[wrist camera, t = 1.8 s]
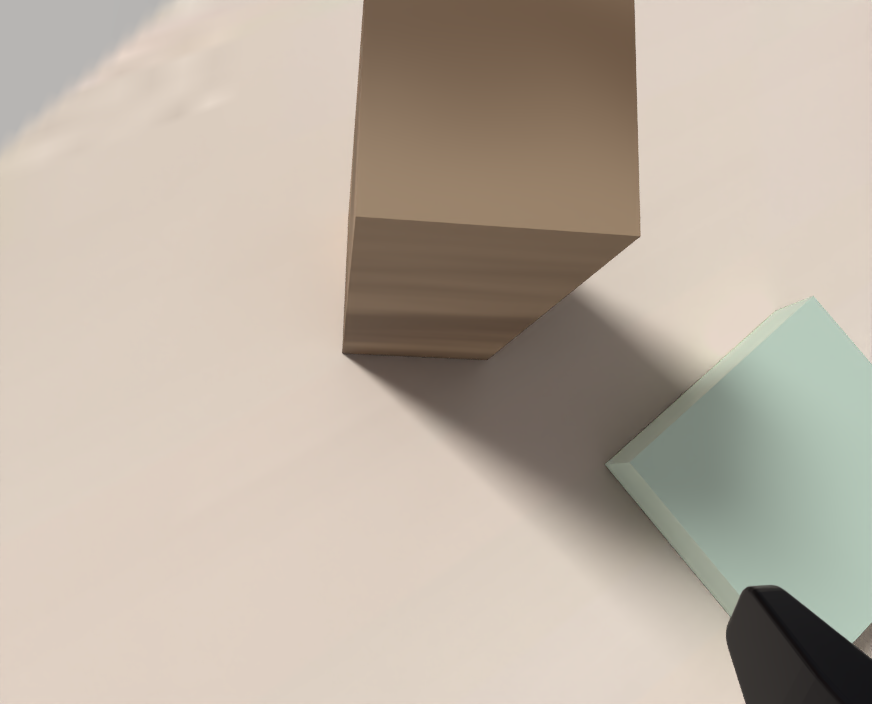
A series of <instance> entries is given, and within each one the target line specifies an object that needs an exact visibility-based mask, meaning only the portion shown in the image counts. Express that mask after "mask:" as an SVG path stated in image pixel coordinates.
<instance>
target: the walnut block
mask: <svg viewBox="0 0 872 704" xmlns="http://www.w3.org/2000/svg"><path fill="white" fill-rule="evenodd" d="M639 237H640V199H639V161H638V123H637V86H636V48H635V10H634V0H364V2H363V17H362V31H361V45H360V59H359V73H358V87H357V102H356V116H355V130H354V144H353V158H352V172H351V187H350V201H349V216H348V238H347V260H346V282H345V304H344V326H343V348H342V353H347V354H369V355H390V356H412V357H434V358H456V359H478V360H488V359H489V358H490V357H492V356H493V355H494V354H495V353H497V352H498V351H499V350H500V349H501V348H503V347H504V346H505V345H506V344H508V343H509V342H510V341H511V340H513V339H514V338H515V337H516V336H518V335H519V334H520V333H521V332H523V331H524V330H525V329H526V328H527V327H529V326H530V325H531V324H532V323H534V322H535V321H536V320H537V319H539V318H540V317H541V316H542V315H544V314H545V313H546V312H547V311H549V310H550V309H551V308H552V307H553V306H555V305H556V304H557V303H558V302H560V301H561V300H562V299H563V298H565V297H566V296H567V295H568V294H570V293H571V292H572V291H573V290H575V289H576V288H577V287H578V286H579V285H581V284H582V283H583V282H584V281H586V280H587V279H588V278H589V277H591V276H592V275H593V274H594V273H596V272H597V271H598V270H599V269H601V268H602V267H603V266H604V265H605V264H607V263H608V262H609V261H610V260H612V259H613V258H614V257H615V256H617V255H618V254H619V253H620V252H622V251H623V250H624V249H625V248H627V247H628V246H629V245H630V244H631V243H633V242H634V241H635V240H636V239H638V238H639Z"/></svg>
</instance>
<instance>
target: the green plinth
mask: <svg viewBox="0 0 872 704" xmlns="http://www.w3.org/2000/svg"><path fill="white" fill-rule="evenodd" d="M605 465H606V466H607V468H608V469H609V470H610V471H611V473H612V474H613V475H614V476H615V477H616V479H617V480H618V481H619V482H620V483H621V485H622V486H623V487H624V488H625V490H626V491H627V492H628V493H629V494H630V496H631V497H632V498H633V499H634V500H635V502H636V503H637V504H638V505H639V506H640V508H641V509H642V510H643V511H644V513H645V514H646V515H647V516H648V517H649V519H650V520H651V521H652V522H653V523H654V525H655V526H656V527H657V528H658V530H659V531H660V532H661V533H662V534H663V536H664V537H665V538H666V539H667V540H668V542H669V543H670V544H671V545H672V547H673V548H674V549H675V550H676V551H677V553H678V554H679V555H680V556H681V557H682V559H683V560H684V561H685V562H686V563H687V565H688V566H689V567H690V568H691V570H692V571H693V572H694V573H695V574H696V576H697V577H698V578H699V579H700V580H701V582H702V583H703V584H704V585H705V587H706V588H707V589H708V590H709V591H710V593H711V594H712V595H713V596H714V597H715V599H716V600H717V601H718V602H719V603H720V605H721V606H722V607H723V608H724V610H725V611H726V612H727V613H728V614H729V616H730V617H731V615H732V613H733V611H734V608H735V606H736V604H737V601H738V599H739V597H740V594H741V592H742V591H743V590H744V589H745V588H746V587H748V586H758V585H776V586H779V587H781V588H783V589H784V590H786V591H787V592H788V593H789V594H791V595H792V596H793V597H794V598H796V599H797V600H798V601H799V602H801V603H802V604H803V605H805V606H806V607H807V608H808V609H810V610H811V611H812V612H813V613H815V614H816V615H817V616H818V617H820V618H821V619H822V620H823V621H825V622H826V623H827V624H828V625H830V626H831V627H832V628H834V629H835V630H836V631H837V632H839V633H840V634H841V635H842V636H844V637H845V638H846V639H847V640H849V641H850V642H851V643H853V642H854V641H855V640H856V639H857V638H858V637H859V636H860V635H861V634H862V632H863V631H864V630H865V629H866V628H867V627H868V626H869V625H870V624H871V623H872V364H871V363H870V362H869V361H868V359H867V358H866V357H865V356H864V355H863V354H862V352H861V351H860V350H859V349H858V348H857V346H856V345H855V344H854V343H853V342H852V341H851V339H850V338H849V337H848V336H847V335H846V334H845V332H844V331H843V330H842V329H841V328H840V327H839V325H838V324H837V323H836V322H835V321H834V320H833V318H832V317H831V316H830V315H829V314H828V313H827V311H826V310H825V309H824V308H823V307H822V305H821V304H820V303H819V302H818V301H817V300H816V298H815V297H814V296H812V297H809V298H806V299H804V300H801V301H799V302H796V303H794V304H791V305H789V306H786V307H784V308H781V309H779V310H776V311H775V312H774V313H773V314H772V315H771V316H769V317H768V318H767V319H766V320H765V321H764V322H763V323H762V324H761V325H759V326H758V327H757V328H756V329H755V330H754V331H753V332H752V333H751V334H749V335H748V336H747V337H746V338H745V339H744V340H743V341H742V342H741V343H739V344H738V345H737V346H736V347H735V348H734V349H733V350H732V351H731V352H729V353H728V354H727V355H726V356H725V357H724V358H723V359H722V360H721V361H719V362H718V363H717V364H716V365H715V366H714V367H713V368H712V369H710V370H709V371H708V372H707V373H706V374H705V375H704V376H703V377H702V378H700V379H699V380H698V381H697V382H696V383H695V384H694V385H693V386H692V387H690V388H689V389H688V390H687V391H686V392H685V393H684V394H683V395H682V396H680V397H679V398H678V399H677V400H676V401H675V402H674V403H673V404H672V405H670V406H669V407H668V408H667V409H666V410H665V411H664V412H663V413H662V414H660V415H659V416H658V417H657V418H656V419H655V420H654V421H653V422H652V423H650V424H649V425H648V426H647V427H646V428H645V429H644V430H643V431H642V432H640V433H639V434H638V435H637V436H636V437H635V438H634V439H633V440H632V441H630V442H629V443H628V444H627V445H626V446H625V447H624V448H623V449H622V450H620V451H619V452H618V453H617V454H616V455H615V456H614V457H613V458H611V459H610V460H609V461H608V462H607V463H606V464H605Z"/></svg>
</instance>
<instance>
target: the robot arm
mask: <svg viewBox="0 0 872 704" xmlns="http://www.w3.org/2000/svg"><path fill="white" fill-rule="evenodd" d="M726 640H727V645H728V649H729V652H730V655H731V659H732V662H733V665H734V668H735V671H736V674H737V678H738V681H739V684H740V687H741V690H742V693H743V697H744V700H745V703H746V704H872V659H871V658H870V657H869V656H868V655H866V654H865V653H864V652H863V651H861V650H860V649H859V648H857V647H856V646H855V645H854V644H852V643H851V642H850V641H849V640H847V639H846V638H845V637H844V636H842V635H841V634H840V633H839V632H837V631H836V630H835V629H834V628H832V627H831V626H830V625H828V624H827V623H826V622H825V621H823V620H822V619H821V618H820V617H818V616H817V615H816V614H815V613H813V612H812V611H811V610H810V609H808V608H807V607H806V606H805V605H803V604H802V603H801V602H799V601H798V600H797V599H796V598H794V597H793V596H792V595H791V594H789V593H788V592H787V591H786V590H784V589H783V588H781V587H779V586H776V585H758V586H748V587H746V588H745V589H744V590H743V591H742V592H741V594H740V597H739V599H738V601H737V604H736V606H735V608H734V611H733V613H732V615H731V618H730V620H729V622H728V625H727V630H726Z"/></svg>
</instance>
